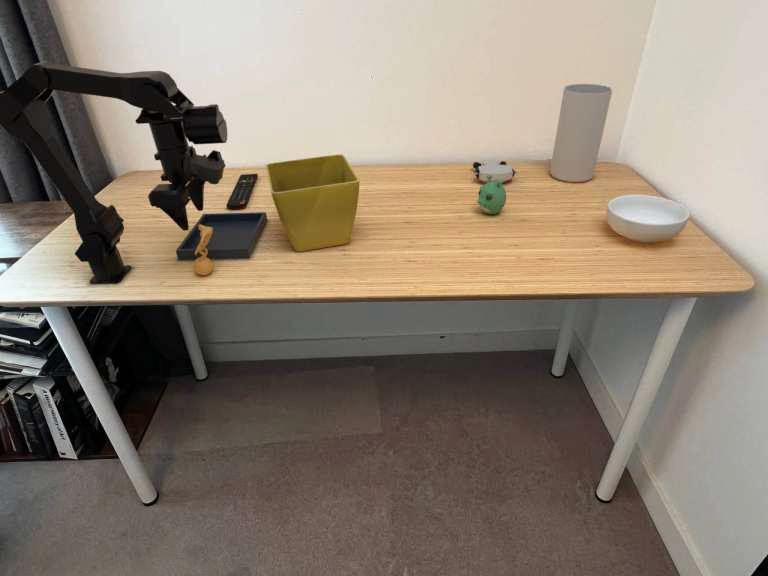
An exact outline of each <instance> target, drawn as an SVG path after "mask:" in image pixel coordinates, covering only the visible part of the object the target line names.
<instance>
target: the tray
mask: <svg viewBox="0 0 768 576" xmlns="http://www.w3.org/2000/svg"><path fill="white" fill-rule="evenodd" d="M267 215H268V214H267V212H266V211H265V212H263V211H261V212H260V211H259V212H226V213H225V212H221V213H217V212H216V213H203V214H202V215H201V216H200V218H199V219H198V221H196V223H195V224H194V225H193V227H192V229H191V230H190V231H189V232H188V234H187V235H186V236H185V238H184V239H183V240H182V242H181V243H180V244H179V246H178V247H177V248H176V250H175V253H176V256H177V260H178V261H195V260H196V259H197V258H199V257H201V256H203V255H201V254H200V253H199V252H197V255H195V251H196V250H197V247H198V245H199V243H200V241H201V236H200V232H201V231H200V230H199V229H198V225H199V224H201V225H203V226H207V227H212V228H213V230H212V231H213V232H212V236H211V238H210V239H209V242H208V244H207V245H206V246H205V248H207V250H208V253H207V255H206V257H207V258H209V259H210V260H242V259H243V260H244V259H245V260H246V259H247V260H248V259H250V258H251V257H252V255H253V252H254V250H255V248H256V246H257V244H258V242H259V240H260V238H261V235H262V234H263V231H264V229H265V228H266V225H267V223H268V216H267ZM202 252H204V253H206V252H205V251H204V250H202Z"/></svg>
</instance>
